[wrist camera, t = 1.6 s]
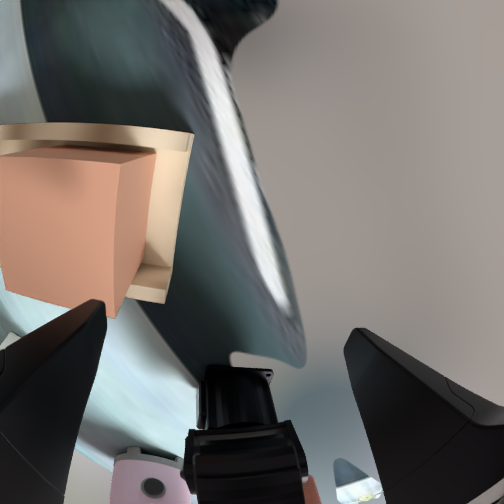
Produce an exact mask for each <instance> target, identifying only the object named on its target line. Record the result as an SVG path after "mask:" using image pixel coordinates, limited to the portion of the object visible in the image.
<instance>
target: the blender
mask: <svg viewBox="0 0 504 504" xmlns="http://www.w3.org/2000/svg"><path fill="white" fill-rule="evenodd" d="M182 463H183V459H182V458H180V457H175V461H172V460H169V459H166V458H162V457H157V456H152V455H146V454H141V449H140V448H139V447H129V448H128V449H127V453H125V454H120V455H117V456H116V457H115V459H114V470H113V476H112V484H111V492H110V504H190V491H189V489H188V486H187V484H186V481H185V480H183V479H182V478H181V477H180V470H181V466H182Z"/></svg>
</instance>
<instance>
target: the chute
mask: <svg viewBox="0 0 504 504" xmlns="http://www.w3.org/2000/svg"><path fill="white" fill-rule="evenodd" d="M193 139H194V134H191V133H185V132H178V131H171V130H163V129H155V128H146V127H137V126H126V125H112V124H95V123H23V124H7V125H0V155H5V154H10V153H15V152H20V151H25V150H31V149H37V148H43V147H50V146H57V145H75V146H90V147H103V148H114V149H124V150H134V151H142V152H150V153H157V155H156V161H155V167H154V173H153V180H152V187H151V194H150V202H149V210H148V219H147V228H146V239H145V251H144V258H143V260H142V262H141V264H140V266H139V268H138V270H137V272H136V274H135V276H134V278H133V281H132V283H131V285H130V287H129V289H128V291H127V293H126V295H125V297H127V298H133V299H138V300H144V301H150V302H156V303H162V304H165V300H166V296H167V292H168V288H169V284H170V280H171V276H172V270H173V261H174V253H175V245H176V237H177V230H178V223H179V216H180V210H181V203H182V197H183V191H184V186H185V180H186V174H187V169H188V164H189V159H190V154H191V149H192V144H193ZM0 268H1V262H0Z"/></svg>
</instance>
